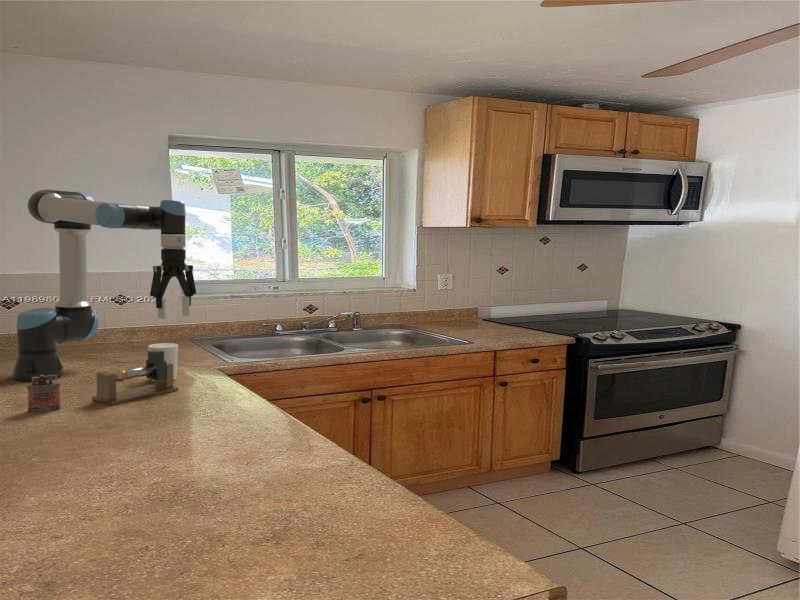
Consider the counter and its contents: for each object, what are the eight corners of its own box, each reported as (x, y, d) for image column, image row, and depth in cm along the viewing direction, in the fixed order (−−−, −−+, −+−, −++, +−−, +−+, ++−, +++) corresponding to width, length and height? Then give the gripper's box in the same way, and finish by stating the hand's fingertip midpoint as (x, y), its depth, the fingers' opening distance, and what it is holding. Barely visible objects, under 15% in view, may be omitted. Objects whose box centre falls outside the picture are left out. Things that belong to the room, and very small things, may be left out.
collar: (146, 378, 195) (146, 350, 195) (154, 376, 198) (154, 349, 197) (158, 380, 192) (157, 352, 191) (166, 379, 195) (165, 351, 194)
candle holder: (168, 383, 206) (168, 348, 205) (142, 381, 208) (142, 346, 207) (184, 377, 215) (183, 343, 214) (159, 375, 217) (158, 342, 216)
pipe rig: (92, 400, 183) (91, 371, 182) (158, 385, 202) (158, 360, 201) (111, 405, 177) (111, 376, 176) (178, 390, 197) (177, 364, 196)
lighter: (27, 413, 168) (26, 377, 167) (28, 410, 171) (27, 375, 170) (60, 410, 171) (59, 375, 170) (60, 407, 174) (60, 372, 173)
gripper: (151, 248, 186) (152, 321, 188) (207, 248, 204) (207, 315, 206) (136, 247, 190) (137, 319, 192) (193, 248, 208) (193, 313, 210)
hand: (174, 317), depth 199 cm, fingers open, 9 cm apart
